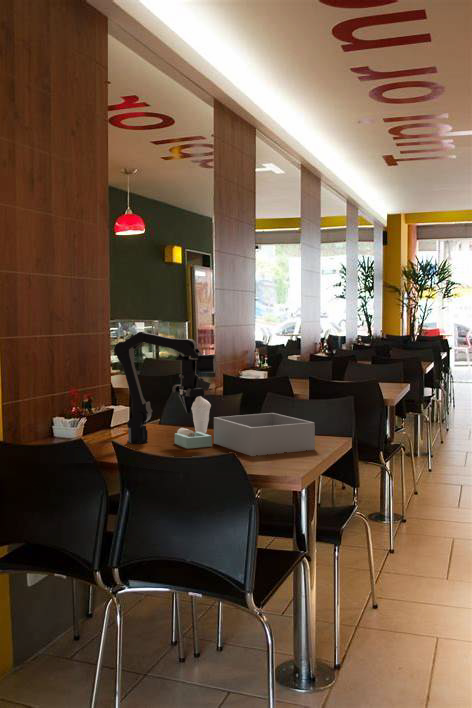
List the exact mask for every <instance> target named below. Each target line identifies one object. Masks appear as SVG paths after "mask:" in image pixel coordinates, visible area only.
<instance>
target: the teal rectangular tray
mask: <svg viewBox="0 0 472 708" xmlns="http://www.w3.org/2000/svg"><path fill="white" fill-rule="evenodd" d="M193 432H194V434H195V437H188V436H185V435H183V434H180V433H177V432H176V433H174V444H175V445H177V446H179V447H182V448H184V449H195V448H196V449H197V448H208V447H213V445H212V444H213V443H212V441H213V438H212V437H213V436H212V435H210V434H208V433H202V432H199V431H198V432H196V431H193Z"/></svg>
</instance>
